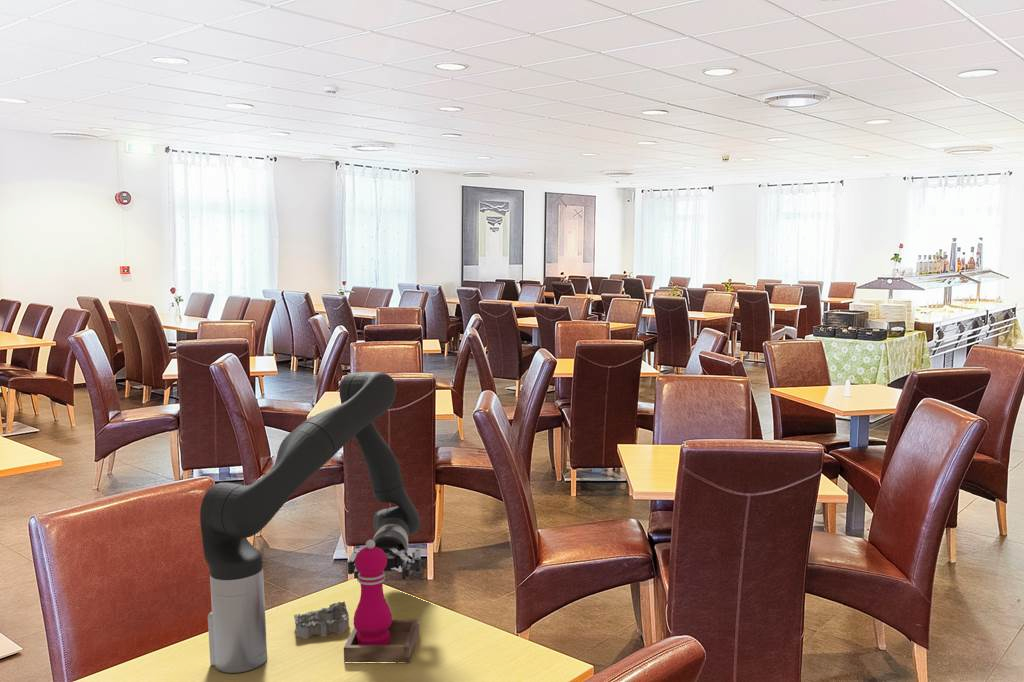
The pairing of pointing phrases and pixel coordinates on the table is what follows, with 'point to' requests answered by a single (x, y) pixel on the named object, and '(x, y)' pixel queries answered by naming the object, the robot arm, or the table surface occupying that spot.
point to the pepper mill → (372, 597)
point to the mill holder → (396, 651)
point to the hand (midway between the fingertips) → (381, 575)
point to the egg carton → (312, 621)
